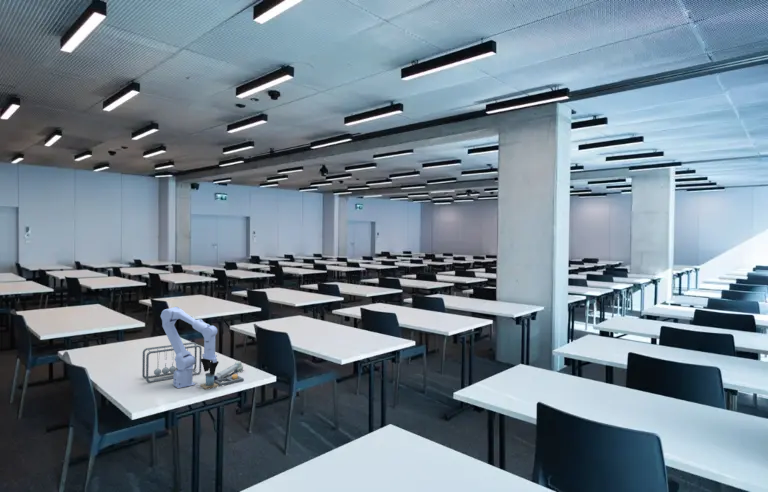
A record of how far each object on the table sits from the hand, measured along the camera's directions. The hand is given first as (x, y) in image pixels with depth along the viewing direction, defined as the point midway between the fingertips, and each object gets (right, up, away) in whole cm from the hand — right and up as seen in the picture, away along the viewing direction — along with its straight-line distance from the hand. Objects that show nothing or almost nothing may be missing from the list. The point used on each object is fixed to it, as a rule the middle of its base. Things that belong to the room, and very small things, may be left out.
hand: (209, 372), depth 246 cm
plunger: (+11, -8, +11) cm, 17 cm away
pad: (0, -8, 0) cm, 8 cm away
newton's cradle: (-28, -7, +16) cm, 33 cm away
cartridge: (0, -7, 0) cm, 7 cm away
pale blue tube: (+4, -8, +20) cm, 22 cm away
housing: (+8, -8, +8) cm, 14 cm away
